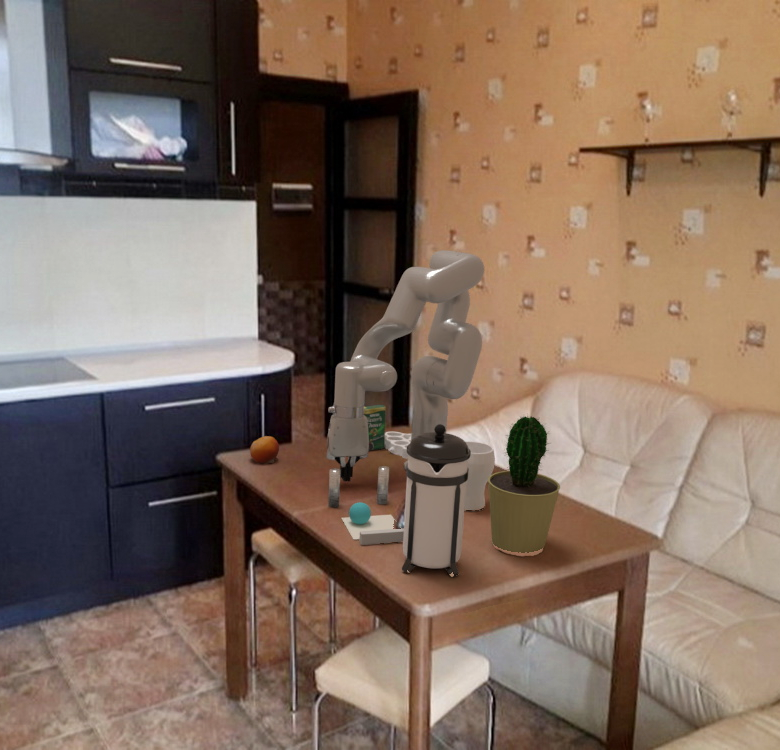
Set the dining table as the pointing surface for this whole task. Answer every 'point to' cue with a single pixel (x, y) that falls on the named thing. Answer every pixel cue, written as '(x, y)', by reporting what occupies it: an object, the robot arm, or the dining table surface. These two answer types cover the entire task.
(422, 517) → the coffee press
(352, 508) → the ball
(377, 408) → the coffee box
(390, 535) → the rail
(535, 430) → the potted cactus
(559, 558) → the dining table surface
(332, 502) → the outer post
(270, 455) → the fruit
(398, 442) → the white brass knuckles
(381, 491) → the inner post
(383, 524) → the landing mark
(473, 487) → the cup
